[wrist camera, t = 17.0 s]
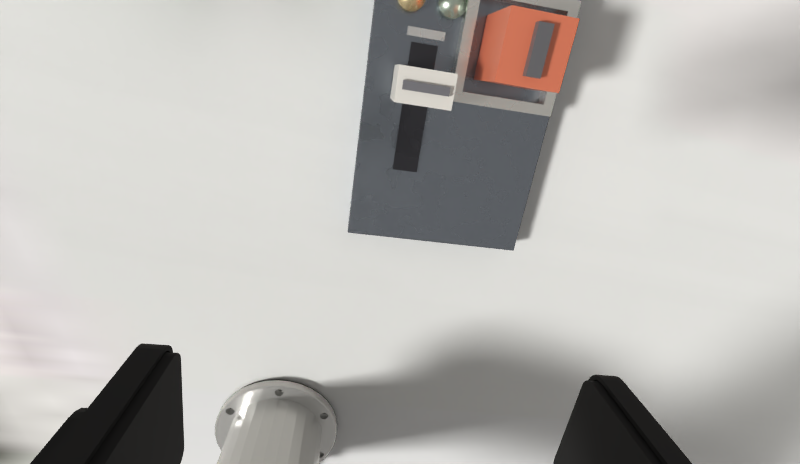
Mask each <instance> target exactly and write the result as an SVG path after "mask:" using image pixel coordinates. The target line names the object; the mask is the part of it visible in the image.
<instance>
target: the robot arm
mask: <svg viewBox="0 0 800 464" xmlns="http://www.w3.org/2000/svg"><path fill="white" fill-rule="evenodd" d="M336 432H337V422H336V416H335V414H334V411H333V409H332V407H331V406H330V404H329V403H328V401H327V400H326V399H325V398H323V397H322V396H321V395H320V394H319V393H317V392H316V391H314V390H313V389H311V388H309V387H306V386H304V385H302V384H298V383H294V382H290V381H281V380H273V381H263V382H258V383H254V384H251V385H249V386H246V387H244V388H242V389H240V390H239V391H237V392H235V393H234V394H233V395H232V396H231V397H230V398H228V399H227V401H226V402H225V403H224V405H223V406H222V408H221V410H220V412H219V415H218V417H217V420H216V424H215V437H216V440H217V444H218V446H219V447H220V449H221V454H220V456H219V459H218V462H217V464H319V462H321V461H322V460H323V459H324V458H325V457H326V456H327V455H328V454H329V452H330V451H331V449H332V447H333V445H334V443H335V439H336ZM183 451H184V430H183V404H182V377H181V357H180V354H179V353H173V350H172V347H171V346H169V345H155V344H140V345H139V346H138V347H136V349H135V350H134V351H133V352H132V354H131V355H130V356H129V357H128V359H127V360H126V361H125V362H124V364H123V365H122V366H121V367H120V369H119V370H118V371H117V372H116V374H115V375H114V376H113V377H112V379H111V380H110V381H109V382H108V384H107V385H106V386H105V387H104V389H103V390H102V391H101V392H100V394H99V395H98V396H97V397H96V399H95V400H94V401H93V402H92V404H91V405H90V406H89V407H88V408H80V409H78V410H77V411H75V412H74V413H73V414H72V415H71V416H70V417H69V418H68V419H67V420H66V421H65V423H64V424H63V425H62V426H61V427H60V429H59V430H58V431H57V432H56V433H55V435H54V436H53V437H52V438H51V439H50V441H49V442H48V443H47V444H46V445H45V447H44V448H43V449H42V450H41V451H40V453H39V454H38V455H37V456H36V457H35V459H34V460H33V461H32V462H31V463H30V464H180V463H181V460H182V456H183ZM554 464H692V463H691V462H690V461H689V459H688V458H687V457H686V456H685V455H684V453H683V452H682V451H681V450H680V449H679V447H678V446H677V445H676V444H675V443H674V441H673V440H672V439H671V438H670V437H669V435H668V434H667V433H666V432H665V431H664V429H663V428H662V427H661V426H660V425H659V423H658V422H657V421H656V420H655V419H654V418H653V416H652V415H651V414H650V413H649V412H648V410H647V409H646V408H645V407H644V406H643V404H642V403H641V402H640V401H639V400H638V398H637V397H636V396H635V395H634V394H633V392H632V391H631V390H630V389H629V388H628V386H627V385H626V384H625V383H624V382H623V381H622V380H621V379H620V378H619V377H616V376H604V375H593V376H591V377H590V378H589V380H588V381H585V382H584V383H583V385H582V388H581V390H580V393H579V396H578V398H577V401H576V403H575V406H574V409H573V411H572V414H571V417H570V419H569V422H568V425H567V427H566V430H565V432H564V435H563V438H562V440H561V443H560V446H559V448H558V451H557V454H556V456H555V459H554Z"/></svg>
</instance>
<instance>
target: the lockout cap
mask: <svg viewBox="0 0 800 464" xmlns="http://www.w3.org/2000/svg"><path fill="white" fill-rule="evenodd" d="M578 23H579V18H574V17H569V16H564V15H559V14H554V13H549V12H544V11H539V10H534V9H529V8H524V7H519V6H515V5H511V6H508V7H506V8H503V9H501V10H499V11H496V12H494V13H491V14H489V15H487V17H486V22H485V27H484V31H483V36H482V41H481V46H480V51H479V55H478V60H477V65H476V70H475V75H474V79H473V80H478V81H484V82H490V83H495V84H501V85H507V86H513V87H518V88H524V89H530V90H538V91H546V92H554V93H559V91H560V88H561V84H562V80H563V77H564V73H565V70H566V66H567V62H568V59H569V55H570V52H571V48H572V45H573V41H574V37H575V34H576V30H577V27H578Z"/></svg>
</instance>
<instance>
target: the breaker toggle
mask: <svg viewBox="0 0 800 464" xmlns="http://www.w3.org/2000/svg"><path fill="white" fill-rule="evenodd" d="M457 78H458V74H455V73H449V72H443V71H437V70H431V69H425V68H419V67H413V66H407V65H401V64H397V65H395V66H394V73H393V81H392V88H391V95H390V99H391V100H392V101H393V102H397V103H403V104H410V105H416V106H423V107H429V108H436V109H442V110H449V111H451V110H452V104H453V99H454V94H455V88H456V83H457Z"/></svg>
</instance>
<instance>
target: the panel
mask: <svg viewBox="0 0 800 464" xmlns="http://www.w3.org/2000/svg"><path fill="white" fill-rule="evenodd" d="M581 2H582V1H581V0H374V9H373V18H372V26H371V35H370V43H369V52H368V61H367V69H366V78H365V86H364V95H363V104H362V112H361V121H360V130H359V138H358V147H357V155H356V164H355V173H354V181H353V190H352V198H351V207H350V216H349V224H348V232H349V233H358V234H367V235H376V236H386V237H395V238H404V239H413V240H422V241H431V242H440V243H450V244H459V245H468V246H477V247H486V248H495V249H504V250H514V246H515V243H516V239H517V235H518V231H519V228H520V224H521V220H522V217H523V213H524V209H525V205H526V202H527V198H528V194H529V191H530V187H531V183H532V179H533V176H534V172H535V168H536V165H537V161H538V157H539V153H540V150H541V146H542V142H543V139H544V135H545V131H546V127H547V124H548V120H549V117H551V113H552V110H553V106H554V102H555V99H556V95H557V93H554V92H546V91H538V90H530V89H524V88H518V87H513V86H507V85H501V84H495V83H490V82H484V81H478V80H473V79H474V75H475V70H476V65H477V60H478V55H479V51H480V46H481V41H482V36H483V31H484V27H485V22H486V17H487V15H489V14H491V13H494V12H496V11H499V10H501V9H503V8H506V7H508V6H511V5H515V6H519V7H524V8H529V9H534V10H539V11H544V12H549V13H554V14H559V15H564V16H569V17H574V18H577V17H578V13H579V10H580V6H581ZM397 64H401V65H407V66H413V67H419V68H425V69H431V70H437V71H443V72H449V73H455V74H458V78H457V83H456V88H455V94H454V99H453V104H452V110H451V111H449V110H442V109H436V108H429V107H423V106H416V105H410V104H403V103H397V102H393V101H392V100H391V99H390V95H391V88H392V81H393V73H394V66H395V65H397Z"/></svg>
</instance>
